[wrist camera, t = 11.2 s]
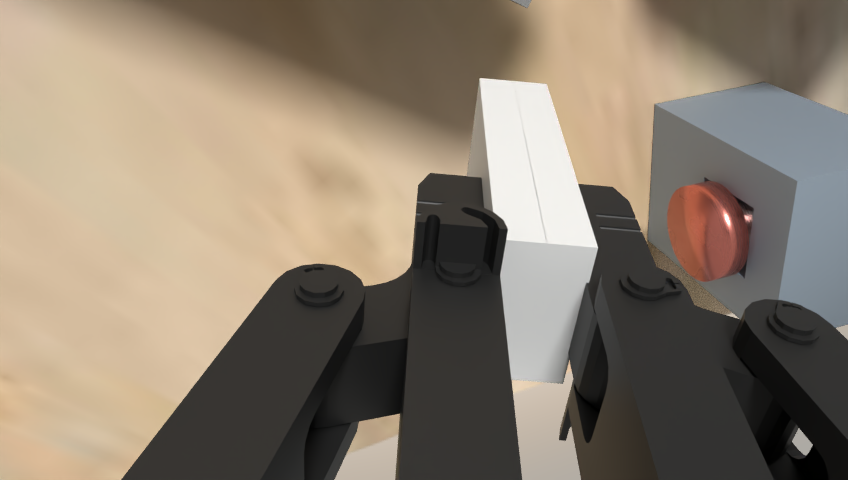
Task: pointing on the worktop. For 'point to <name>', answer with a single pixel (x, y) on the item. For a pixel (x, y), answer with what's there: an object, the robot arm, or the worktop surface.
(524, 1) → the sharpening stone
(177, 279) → the worktop surface
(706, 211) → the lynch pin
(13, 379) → the worktop surface
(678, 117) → the grey rectangular block
